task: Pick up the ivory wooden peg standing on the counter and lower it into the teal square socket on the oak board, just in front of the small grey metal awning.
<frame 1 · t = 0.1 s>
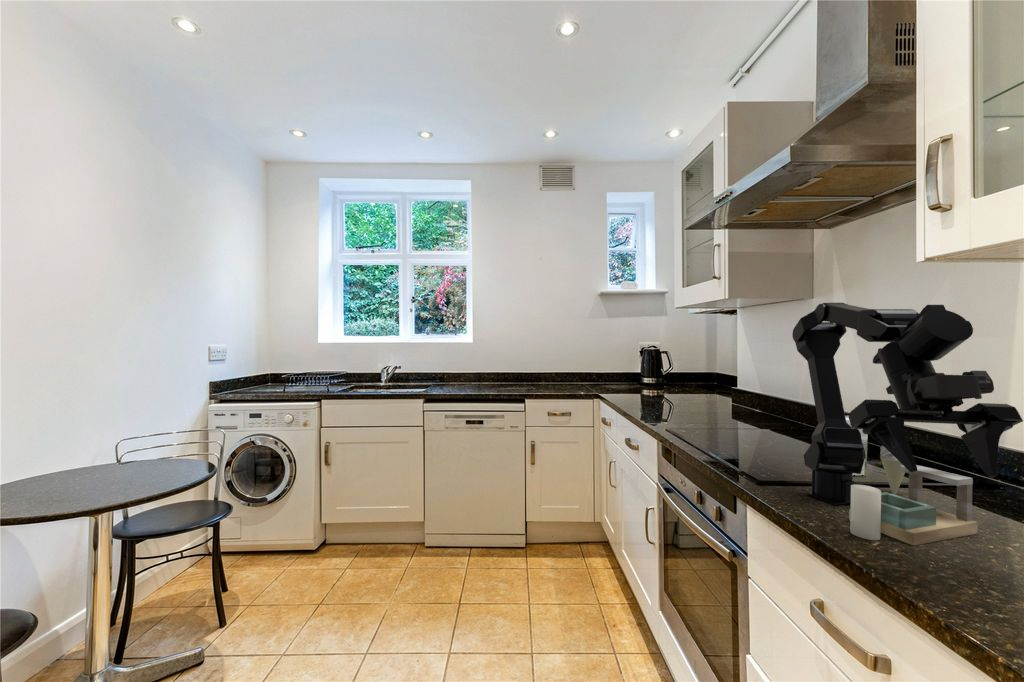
hand: (952, 474, 59), 15 cm above the worktop, tool tilted 30°, fingers open, 9 cm apart
socket board: (910, 526, 76), on the worktop
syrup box: (846, 474, 107), on the worktop
ice cream cone: (894, 496, 92), on the worktop
peg: (865, 534, 72), on the worktop
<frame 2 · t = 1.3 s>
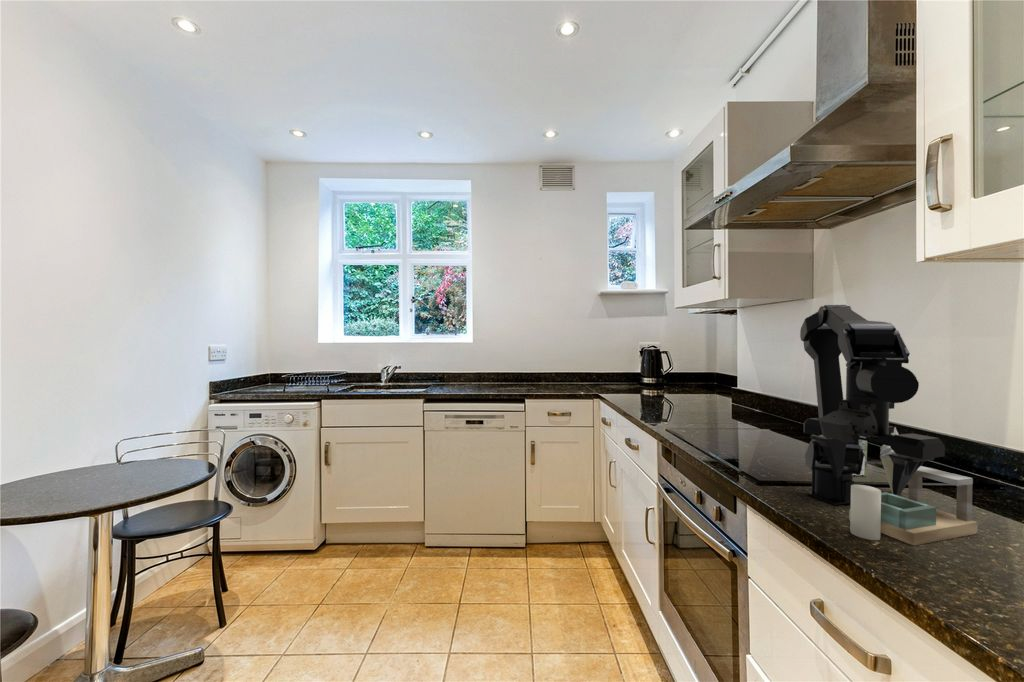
hand: (865, 485, 73), 8 cm above the worktop, tool pointing down, fingers open, 9 cm apart
nothing on the worktop moved.
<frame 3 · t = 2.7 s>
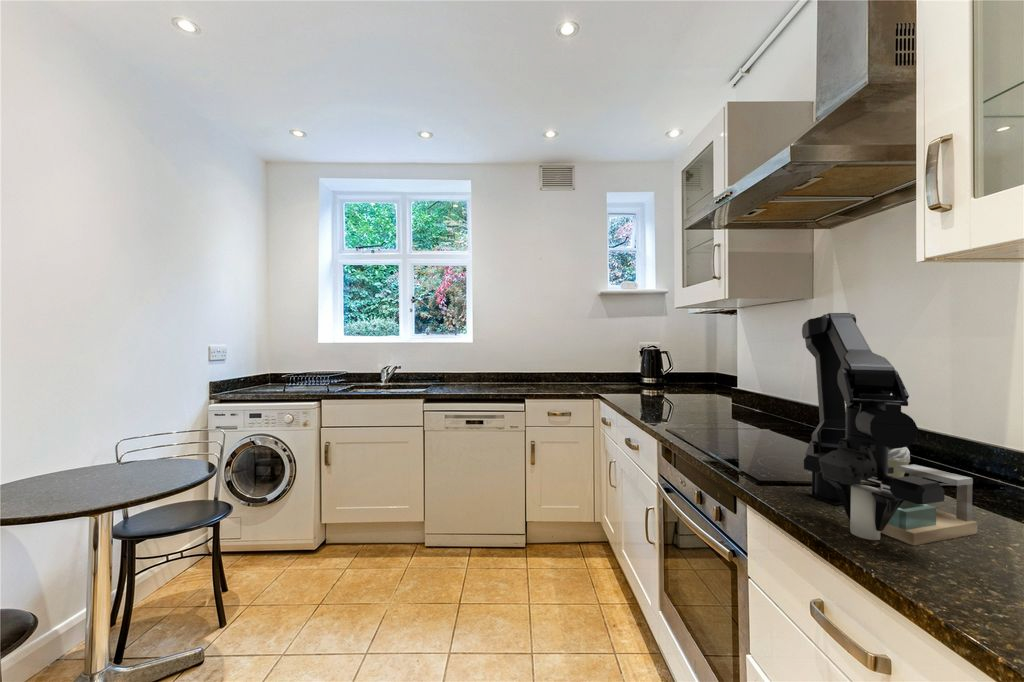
hand: (865, 525, 72), 2 cm above the worktop, tool pointing down, fingers closed on peg, 4 cm apart
peg: (865, 534, 72), on the worktop, touching gripper
everything else where it was.
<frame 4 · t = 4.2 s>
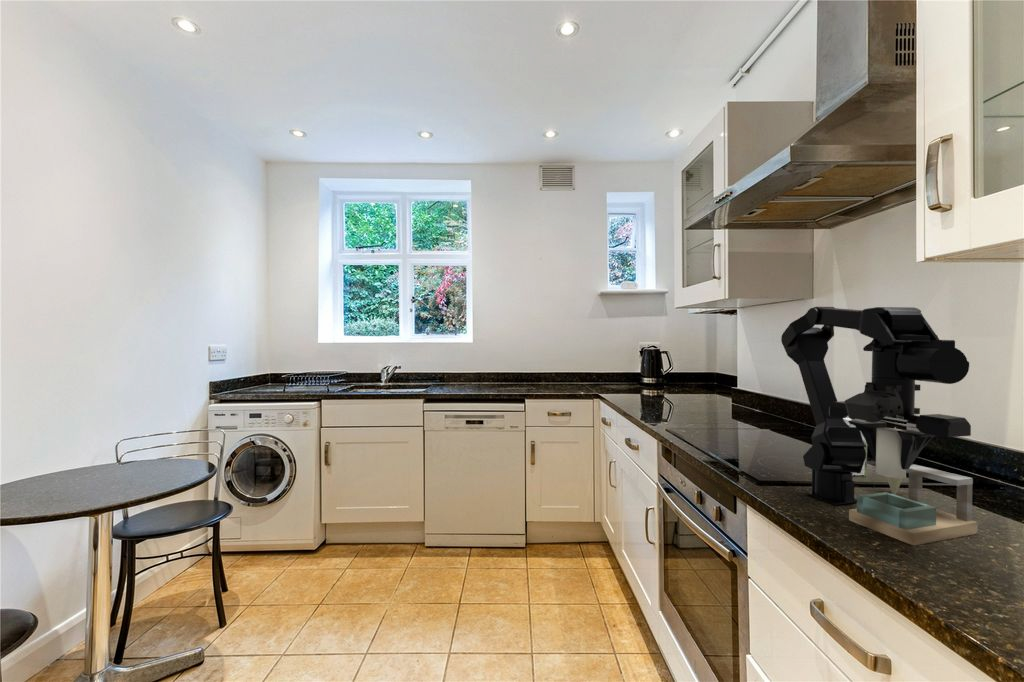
hand: (890, 465, 74), 11 cm above the worktop, tool pointing down, fingers closed on peg, 4 cm apart
peg: (890, 474, 74), point 10 cm above the worktop, touching gripper
everything else where it was.
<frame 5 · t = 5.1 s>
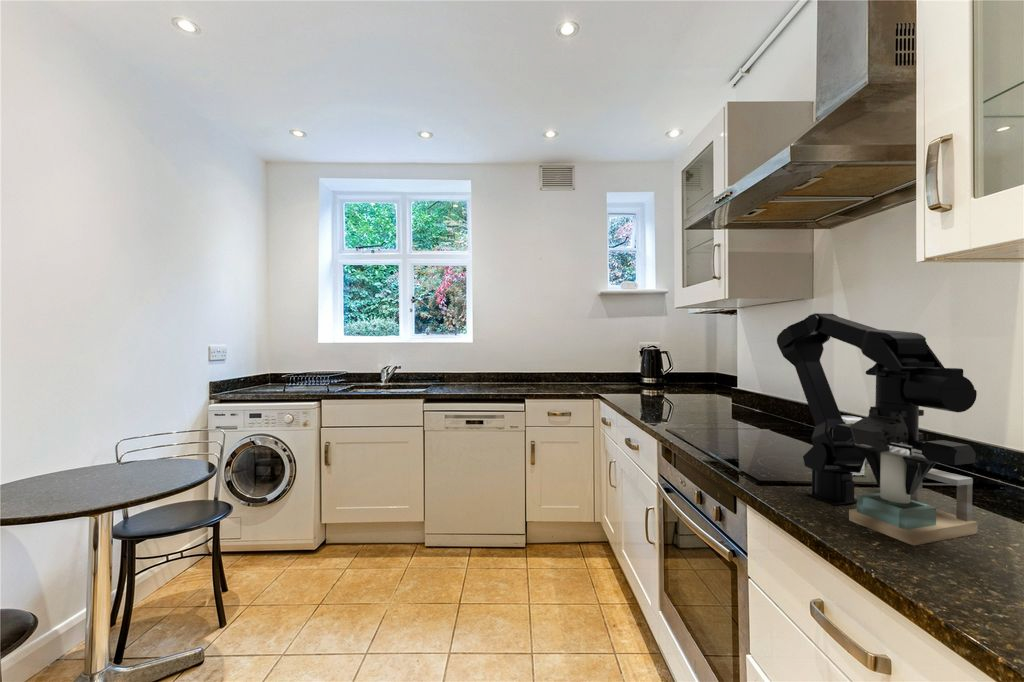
hand: (895, 490, 75), 7 cm above the worktop, tool pointing down, fingers closed on peg, 4 cm apart
peg: (894, 499, 75), point 5 cm above the worktop, touching gripper
everything else where it was.
when the fingers open (5 cm above the worktop, at t = 5.7 s): peg drops 2 cm, resting on socket board.
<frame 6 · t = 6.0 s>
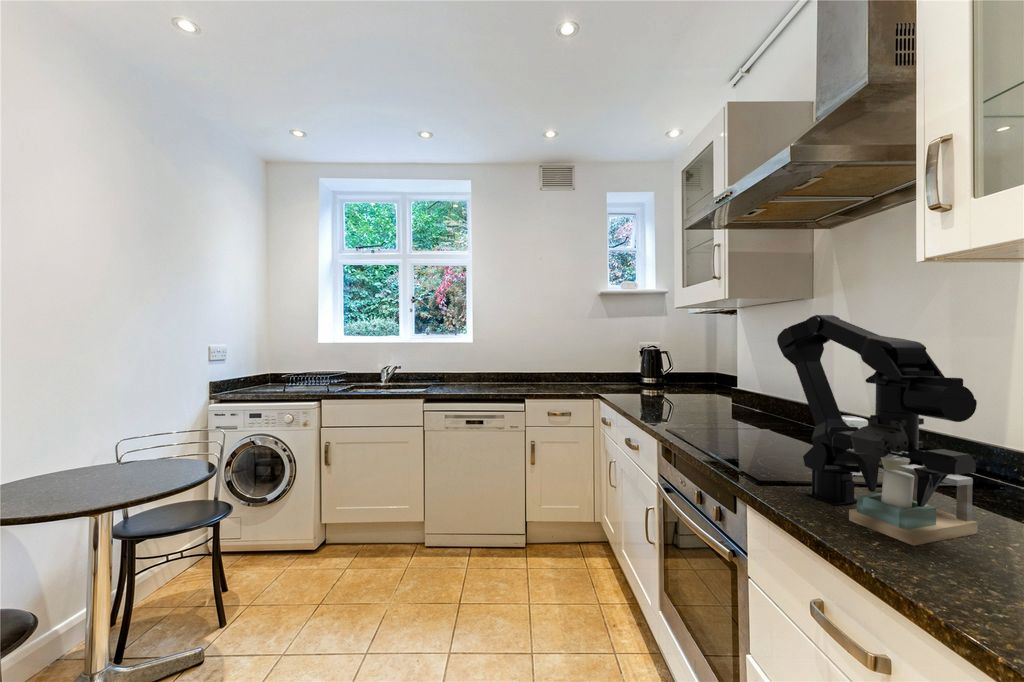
hand: (895, 498, 75), 5 cm above the worktop, tool pointing down, fingers open, 7 cm apart
peg: (894, 517, 75), point 2 cm above the worktop, touching socket board
everything else where it was.
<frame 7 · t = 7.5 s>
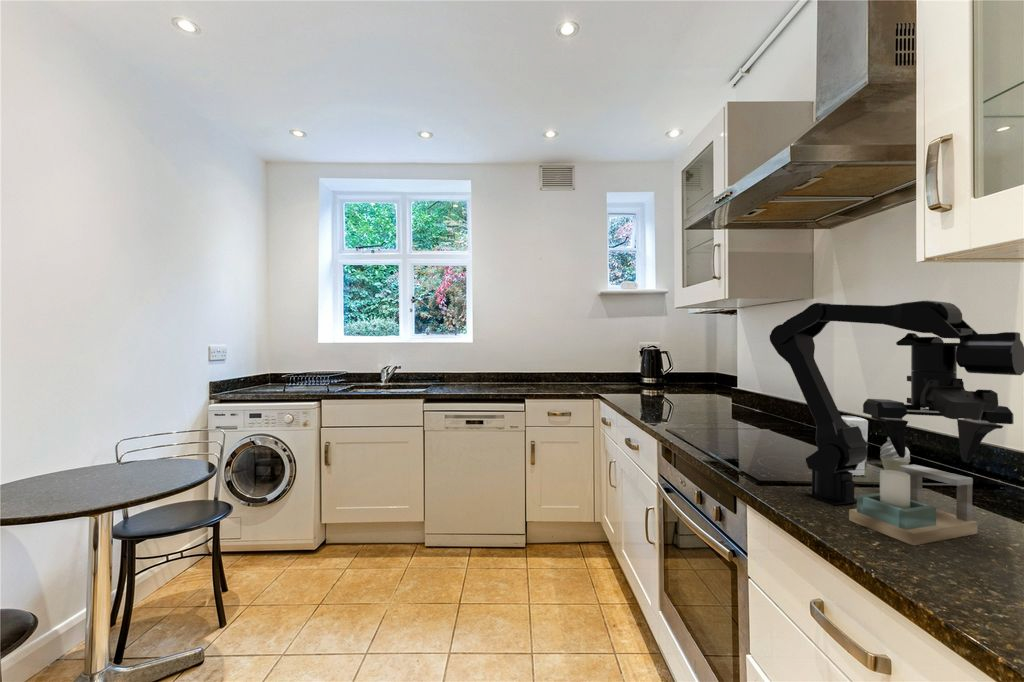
hand: (933, 459, 74), 13 cm above the worktop, tool pointing down, fingers open, 9 cm apart
nothing on the worktop moved.
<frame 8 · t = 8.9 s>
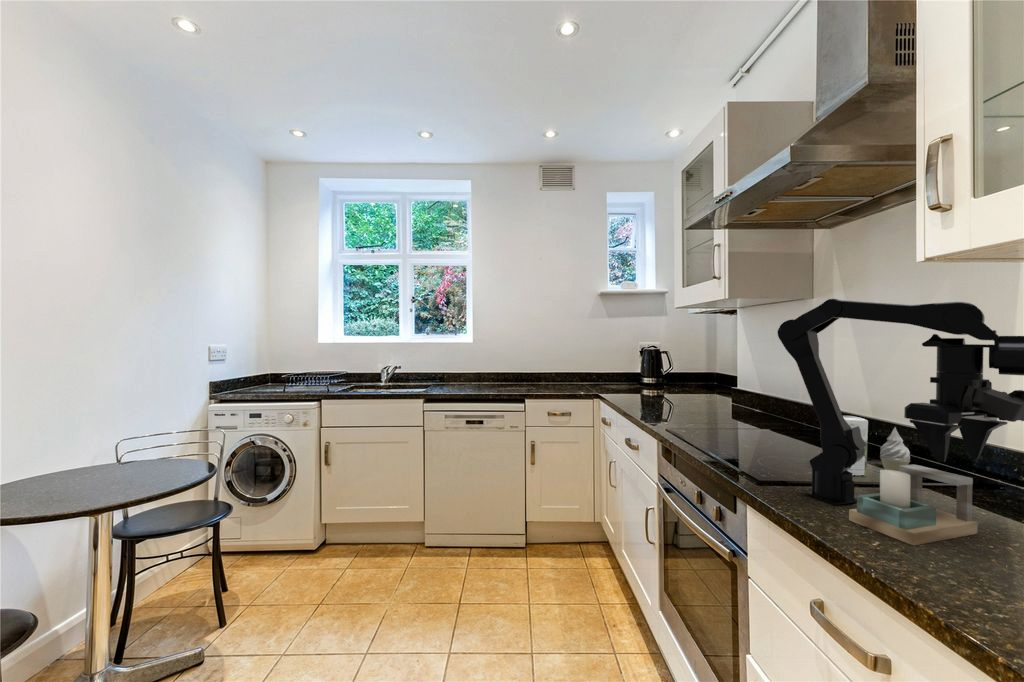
hand: (957, 459, 75), 12 cm above the worktop, tool pointing down, fingers open, 9 cm apart
nothing on the worktop moved.
at the end: peg 0.0 cm from the target spot on the socket board, point 2.0 cm above the socket board's base; peg tilted 1°; the gripper is holding nothing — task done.
